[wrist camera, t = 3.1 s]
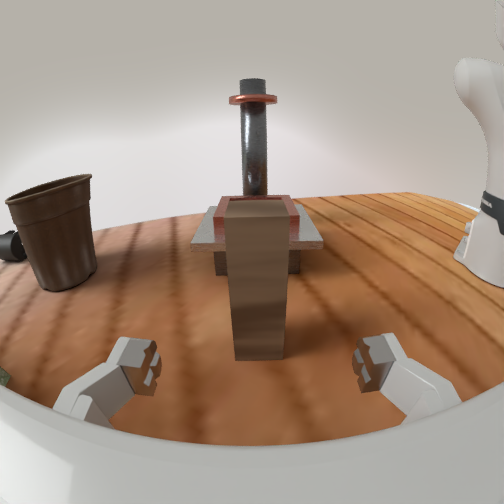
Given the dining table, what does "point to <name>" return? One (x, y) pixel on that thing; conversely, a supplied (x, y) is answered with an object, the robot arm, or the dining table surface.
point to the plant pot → (56, 231)
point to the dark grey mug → (12, 247)
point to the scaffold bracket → (254, 185)
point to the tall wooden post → (257, 276)
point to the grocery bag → (4, 377)
